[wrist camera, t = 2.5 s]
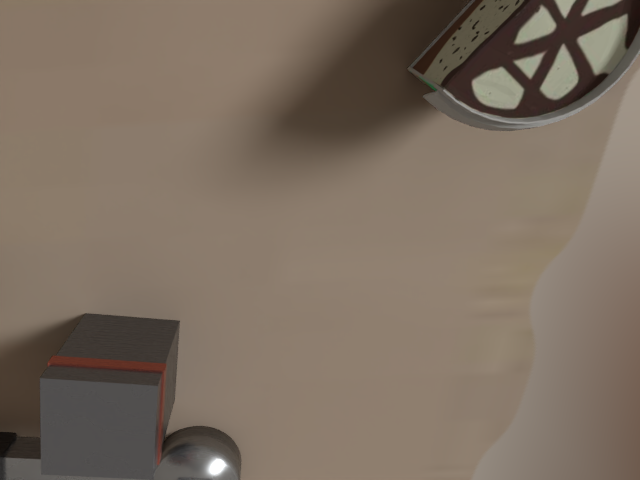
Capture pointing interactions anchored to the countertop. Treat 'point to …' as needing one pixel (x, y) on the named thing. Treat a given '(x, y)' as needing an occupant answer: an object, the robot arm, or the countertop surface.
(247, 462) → the countertop surface
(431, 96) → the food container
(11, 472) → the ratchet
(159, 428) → the red-striped grey cube
